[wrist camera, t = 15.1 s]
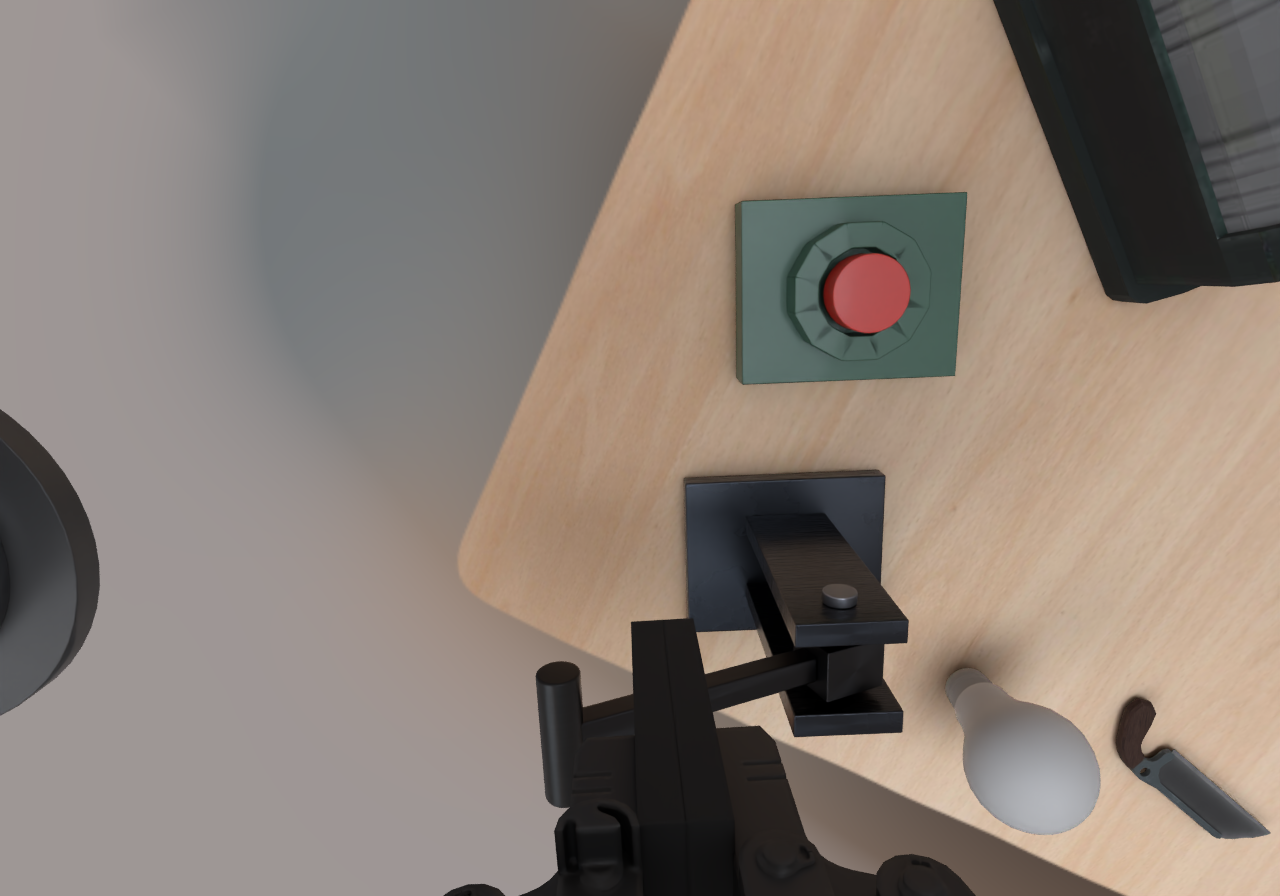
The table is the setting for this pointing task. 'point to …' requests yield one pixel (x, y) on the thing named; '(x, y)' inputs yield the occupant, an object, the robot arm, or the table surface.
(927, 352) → the button box
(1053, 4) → the light fixture
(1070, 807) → the lightbulb
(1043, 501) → the table surface
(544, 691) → the switch lever
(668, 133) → the table surface
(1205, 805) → the knife
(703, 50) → the table surface
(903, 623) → the switch bracket
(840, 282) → the button
